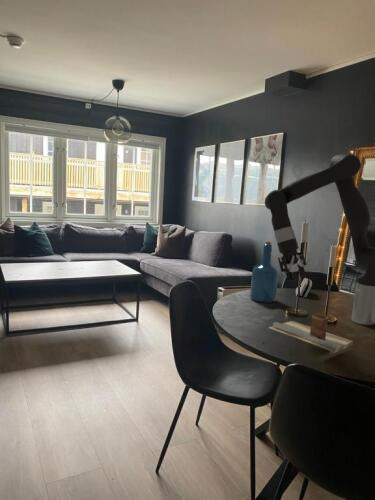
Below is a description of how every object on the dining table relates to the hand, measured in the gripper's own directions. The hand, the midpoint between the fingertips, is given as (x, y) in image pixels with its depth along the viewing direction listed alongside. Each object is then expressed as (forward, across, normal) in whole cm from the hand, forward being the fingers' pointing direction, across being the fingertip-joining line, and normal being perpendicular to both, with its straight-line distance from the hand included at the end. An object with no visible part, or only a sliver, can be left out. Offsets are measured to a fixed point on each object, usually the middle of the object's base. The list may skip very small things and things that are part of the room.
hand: (297, 279), depth 150 cm
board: (+22, -5, -1) cm, 23 cm away
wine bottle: (+9, +24, +40) cm, 47 cm away
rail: (+20, -10, -2) cm, 23 cm away
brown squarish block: (+22, -7, -6) cm, 24 cm away
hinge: (+14, +55, +37) cm, 68 cm away
